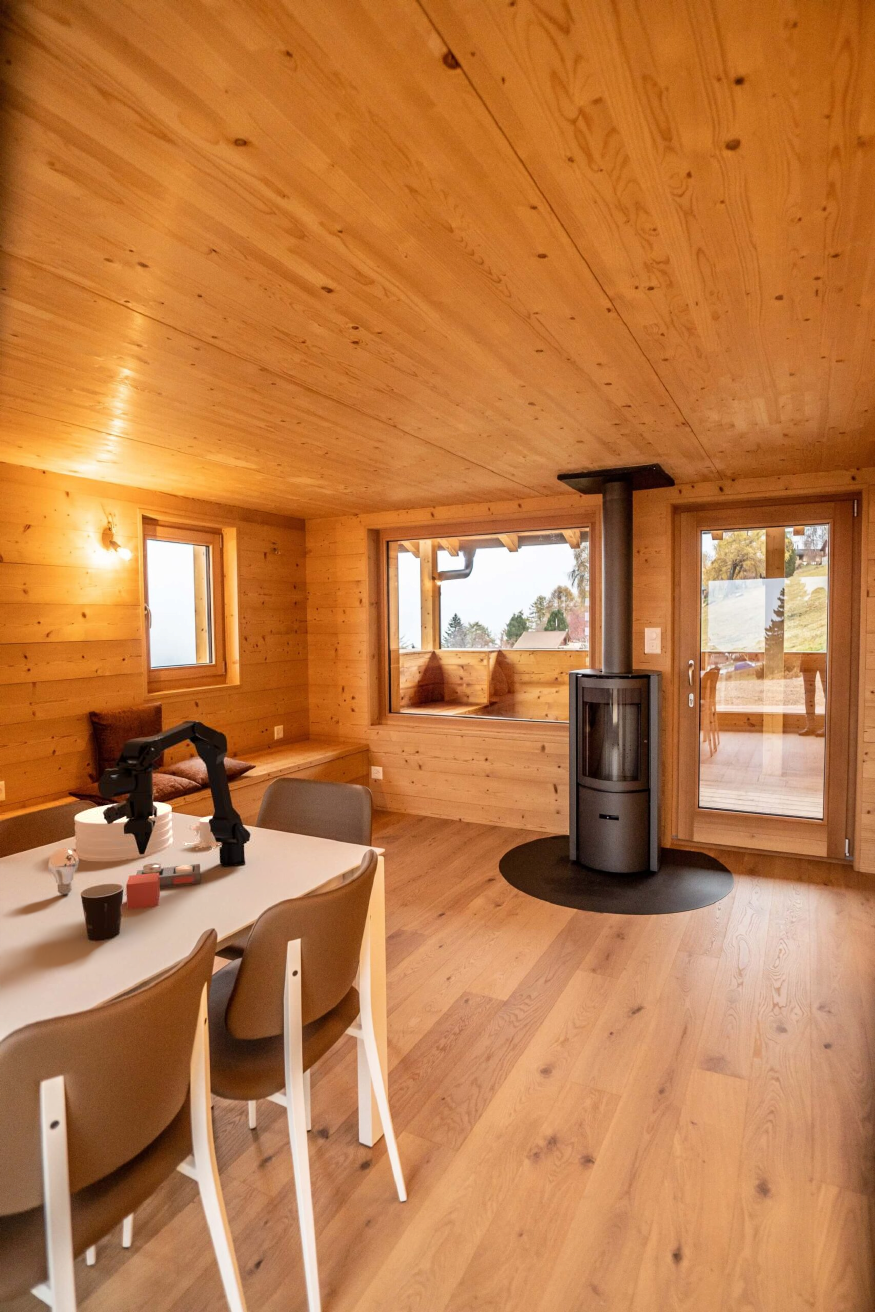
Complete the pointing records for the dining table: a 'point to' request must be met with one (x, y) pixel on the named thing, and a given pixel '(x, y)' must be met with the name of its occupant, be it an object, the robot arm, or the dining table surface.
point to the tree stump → (204, 834)
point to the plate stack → (118, 835)
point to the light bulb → (64, 868)
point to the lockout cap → (143, 890)
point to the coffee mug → (102, 911)
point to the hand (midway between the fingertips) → (142, 853)
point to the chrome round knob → (152, 868)
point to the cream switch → (184, 869)
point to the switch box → (177, 877)
